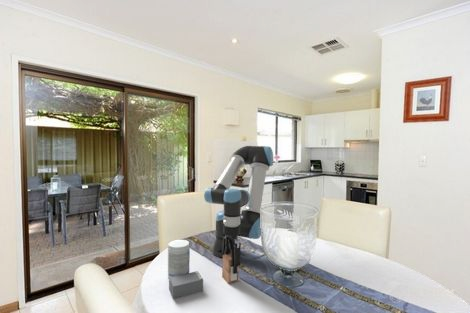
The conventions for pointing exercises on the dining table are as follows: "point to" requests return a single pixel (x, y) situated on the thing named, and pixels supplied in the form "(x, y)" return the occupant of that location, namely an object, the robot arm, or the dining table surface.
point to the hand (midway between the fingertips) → (230, 276)
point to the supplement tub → (178, 257)
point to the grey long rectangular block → (185, 284)
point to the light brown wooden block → (228, 268)
